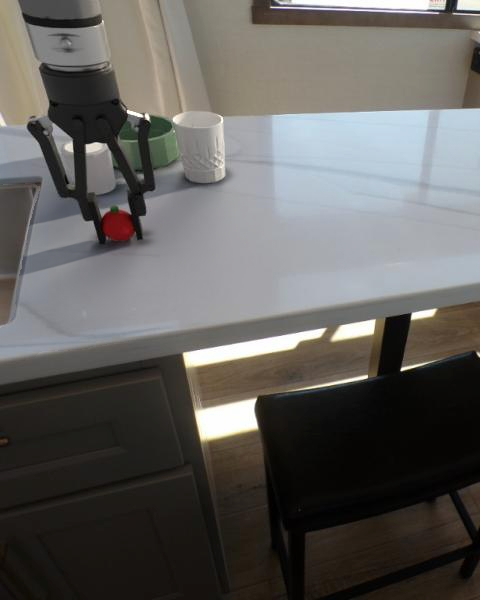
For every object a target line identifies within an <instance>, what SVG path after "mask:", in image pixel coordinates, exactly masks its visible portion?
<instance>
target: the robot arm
mask: <svg viewBox="0 0 480 600" xmlns="http://www.w3.org/2000/svg"><path fill="white" fill-rule="evenodd" d="M17 2H18V4H19V9H20V12H21V16H22V19H23V21H24V25H25V28H26V32H27V35H28V38H29V41H30V44H31V45H30V46H31V48H32V52H33V55H34V58H35V59H36V60H37V61H39V62H40V65H39V67H38V72H39V74H40V78H41V81H42V84H43V87H44V90H45V93H46V97H47V100H48V107H47V112H46V113H44V114H41V115H39V116H37V115H31V116H30V117H29V119H28V120H27V123H26V130H27V131H28V132H29V133H30V135H31V136H32V137H33V138H34V139H35V141H36V142H37V143H38V145H39V148H40V150H41V153H42V156H43V158H44V161H45V163H46V166H47V168H48V171H49V174H50V176H51V179H52V181H53V182H52V183H53V184H54V187H55V190H56V192H57V195H58V197H60V198H61V199H67V198H69V199H74V200H75V201H76V202H77V203H78V207H79V210H80V213H81V216H82V219H83V220H84V221H85V222H93V227H94V229H95V234H96V237H97V240H98V243H99V245H105V244H107V236H106V235H105V234H104V233H103V230H102V225H101V219H102V217H103V216H102V213H101V210H100V206H99V203H98V199H97V195H95V192H91V193H88V192H87V189H88V187H87V164H86V144H92V143H95V142H97V143H103V144H107V146H108V148H109V150H110V151H111V152H112V154H113V156H114V158H115V160H116V162H117V165H118V167H119V168H118V169H119V170H120V172H121V175H122V177H123V178H124V180H125V183H126V185H127V186H128V187H127V188H128V189H127V190H126V200H127V203H128V208H129V213H130V214H131V216H132V220H133V224H134V229H135V233H134V234H135V236H136V241H143V240H144V231H143V226H142V221H141V218H140V217H146V215H147V213H148V212H147V205H146V201H145V196H144V195H145V194H146V193H148V192H150V193H151V192H154V191H155V190H156V180H155V173H154V169H153V166H152V159H151V153H150V147H149V140H148V135H149V131H150V127H151V121H150V116H149V115H148V114H149V113H147V112H140V113H141V114H138V113H139V112H134V111H131V110H128V107H127V106H126V105H125V103H124V101H122V98H121V95H120V89H119V86H118V81H117V76H116V73H115V72H116V71H115V67H114V65H113V64H112V63H111V62H110V59H112V54H111V49H110V45H109V40H108V36H107V35H108V34H107V31H106V27H105V22H104V19H103V15H102V10H101V9H102V8H101V4H100V0H17ZM126 120H127V121H129V122H130V123H131V128H132V130H133V131H135V132H137V138H138V146H139V151H140V157H141V163H142V169H143V170H142V174H143V179H140V178H139V177H138V175H137V173H136V170H134V168H133V166H132V164H131V162H130V160H129V158H128V155H127V153H126V151H125V149H124V147H123V145H122V143H121V140H120V137H119V135H118V134H119V132H120V131H121V129H122V127H123V125H124V124H125V122H126ZM53 125H55V126H57V127H58V128H59V129H60V130H62V132H64V133H65V134H66V135H67V136H68V137H70V138H71V139H72V140H73V152H74V172H75V183H74V184H71V183H70V180H69V177H68V174H67V172H66V169H65V166H64V164H63V161H62V157H61V155H60V152H59V149H58V147H57V143H56V142H55V138H54V136H53V132H54V127H53Z"/></svg>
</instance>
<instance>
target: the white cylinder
mask: <svg viewBox="0 0 480 600" xmlns="http://www.w3.org/2000/svg"><path fill="white" fill-rule="evenodd" d="M59 150H60V152H61V155H62V158H63V159H64V162H65V165H66V167H67V169H68V171H69V175H70V176H71V178H72V181H73V184H75V172H74V152H73V139H72V140H68V141H66V142H64V143H62V144H61V145H60V146H59ZM86 164H87V187H88V189H87V192H88V193H91V192H95V195H96V196H98V195H99V196H100V195H104V194H107V193H110V192H112V191H113V190H115V188H116V186H117V185H116V184H117V183H116V177H115V170H114V166H113V163H112V156H111V151H110V150H109V148H108V146H107V144H103V143H97V142H95V143H92V144H86Z"/></svg>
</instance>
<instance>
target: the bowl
mask: <svg viewBox="0 0 480 600" xmlns="http://www.w3.org/2000/svg"><path fill="white" fill-rule="evenodd" d="M137 113H138V114H141V113H142V112H137ZM147 114H148V115H149V116H150V121H151V127H150V131H149V135H148V140H149V147H150V153H151V159H152V166H153V170H154V169H157V168H158V169H159V168H161V167H164V166H167V165H169V164H171V163H172V162H173V161H175V160H176V159H178V158H179V157H180V153H179V149H178V144H177V140H176V135H175V131H174V126H173V122H172V119H171V118H170V117H168V116H163V115H159V114H154V113H147ZM118 135H119V137H120V140H121V143H122V145H123V147H124V149H125V151H126V153H127V155H128V158H129V160H130V162H131V164H132V166H133V168H134V170H135V171H143V169H142V163H141V157H140V151H139V146H138V138H137V132H135V131H133V130H132V128H131V123H130V122H129V121H127V120H126V122H125V124H124V125H123V127H122V129H121V131H120V132H119V134H118ZM111 156H112V163H113V168H117V169H119V167H118V165H117V162H116V160H115V158H114V156H113V154H112V152H111Z"/></svg>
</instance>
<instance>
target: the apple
mask: <svg viewBox="0 0 480 600" xmlns="http://www.w3.org/2000/svg"><path fill="white" fill-rule="evenodd" d="M109 209H110V210H108V211H107V212H105V213H104V214H103V215H102V216H101V217H102V219H101V225H102V230H103V233H104V234H105V235H106V238H108V239H110V240H111V241H115V242H124V241H127V240H129V239H131V238H132V237H133V236H134V235H135V234H136V233H135V229H134V224H133V220H132V216H131V212H128V211H126V210H124V209H120V208H119V206H117V205H111V206H110V207H109Z"/></svg>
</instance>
